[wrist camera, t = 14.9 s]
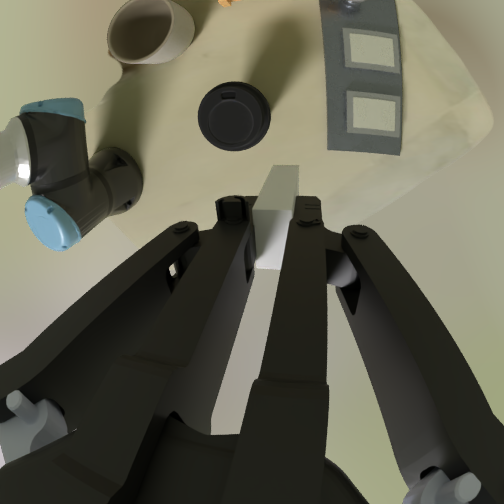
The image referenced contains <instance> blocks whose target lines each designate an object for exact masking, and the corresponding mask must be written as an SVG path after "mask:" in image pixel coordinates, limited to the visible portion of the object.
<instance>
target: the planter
mask: <svg viewBox="0 0 504 504" xmlns="http://www.w3.org/2000/svg"><path fill="white" fill-rule="evenodd" d="M194 32H195V26H194V21H193V19H192V16H191V15H190V13H189V12H188V11H187V10H186V9H185V8H183V7H182V6H180V5H179V4H177V3H175V2H173V1H171V0H130V1H128V2H127V3H125V4H124V5H123V6H122V7H121V8H120V9H119V10H118V11H117V13H116V14H115V15H114V17H113V19H112V21H111V23H110V26H109V29H108V34H107V43H108V47H109V50H110V52H111V54H112V55H113V56H114V57H115V58H116V59H117V60H119V61H121V62H124V63H131V64H159V63H164V62H168V61H170V60H173V59H175V58H176V57H178V56H180V55H181V54H182V53H183V52H184V51H185V50H186V49H187V48H188V47H189V45H190V44H191V42H192V39H193V37H194Z"/></svg>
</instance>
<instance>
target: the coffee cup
mask: <svg viewBox="0 0 504 504" xmlns="http://www.w3.org/2000/svg"><path fill="white" fill-rule="evenodd" d="M270 121H271V113H270V107H269V104H268V102H267V100H266V98H265V97H264V96H263V94H262V93H261V92H260V91H259V90H258V89H256V88H255V87H253V86H251V85H249V84H247V83H243V82H235V81H234V82H226V83H223V84H220V85H218V86H216V87H214V88H213V89H212V90H210V91H209V92H208V93H207V94H206V95H205V97H204V98H203V100H202V101H201V104H200V106H199V110H198V123H199V127H200V130H201V132H202V134H203V135H204V137H205V138H206V139H207V140H208V141H209V142H210V143H211V144H213V145H214V146H216V147H218V148H220V149H222V150H226V151H242V150H246V149H249V148H251V147H253V146H255V145H256V144H257V143H259V142H260V141H261V140H262V139H263V137H264V136H265V135H266V133H267V131H268V129H269V125H270Z"/></svg>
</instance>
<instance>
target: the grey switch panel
mask: <svg viewBox="0 0 504 504" xmlns="http://www.w3.org/2000/svg"><path fill="white" fill-rule="evenodd" d="M319 5H320V14H321V23H322V33H323V45H324V58H325V74H326V96H327V149H328V150H338V151H355V152H368V153H379V154H389V155H398V156H400V147H401V130H402V68H401V52H400V40H399V30H398V22H397V14H396V8H395V2H394V0H366V1H364V2H353V1H351V0H319Z"/></svg>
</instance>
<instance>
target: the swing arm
mask: <svg viewBox="0 0 504 504" xmlns="http://www.w3.org/2000/svg"><path fill="white" fill-rule="evenodd" d="M233 1H239V0H218V2H219V3H220V4H221V5H222V6H223V7H227V6H231V2H233ZM351 1H353V2H364V1H366V0H351Z"/></svg>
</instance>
